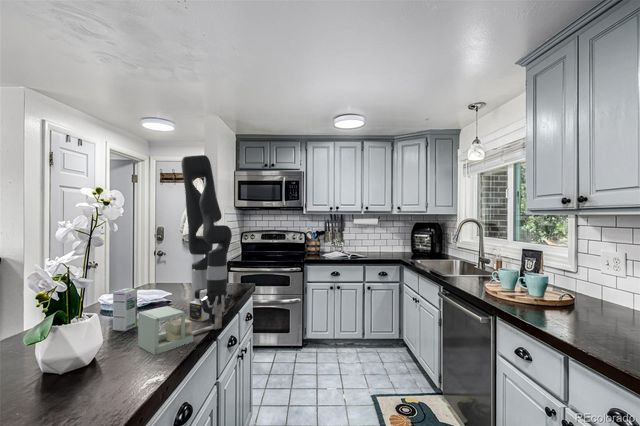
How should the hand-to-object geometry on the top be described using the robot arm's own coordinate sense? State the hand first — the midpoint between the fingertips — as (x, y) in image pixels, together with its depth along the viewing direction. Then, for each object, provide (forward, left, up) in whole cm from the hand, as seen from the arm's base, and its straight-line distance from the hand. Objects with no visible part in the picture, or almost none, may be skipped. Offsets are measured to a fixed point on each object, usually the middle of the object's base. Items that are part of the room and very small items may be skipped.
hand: (216, 322), depth 123 cm
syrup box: (+21, -27, -2) cm, 34 cm away
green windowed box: (+19, 0, -2) cm, 20 cm away
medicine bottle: (-4, -15, -2) cm, 15 cm away
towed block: (+8, 0, -2) cm, 9 cm away
